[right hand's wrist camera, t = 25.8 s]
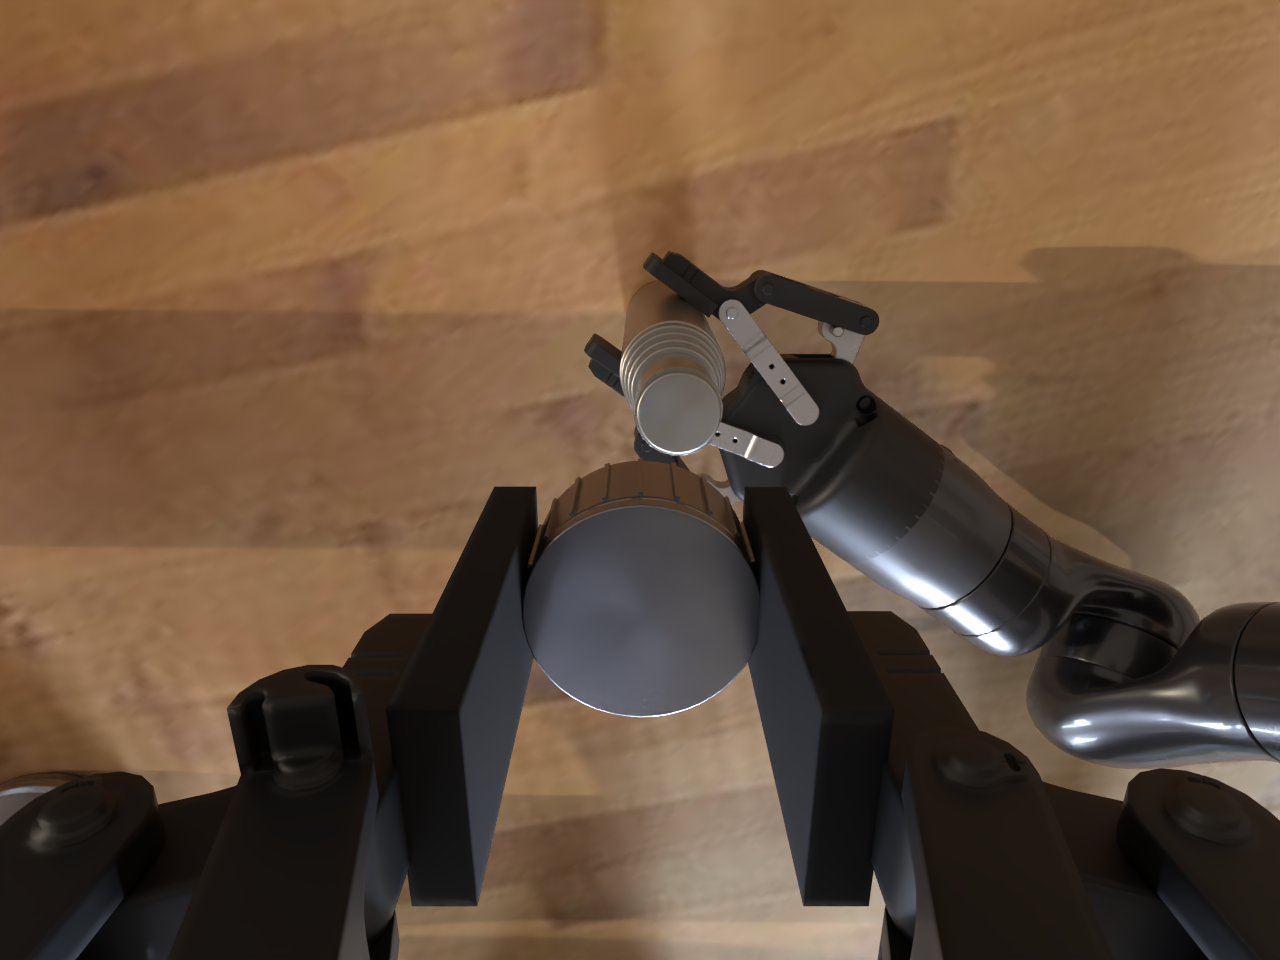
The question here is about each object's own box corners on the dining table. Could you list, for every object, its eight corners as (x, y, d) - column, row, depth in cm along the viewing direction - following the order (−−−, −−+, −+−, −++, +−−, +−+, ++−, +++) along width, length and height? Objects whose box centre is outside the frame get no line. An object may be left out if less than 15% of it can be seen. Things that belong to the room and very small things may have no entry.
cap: (728, 661, 15) (742, 733, 13) (525, 637, 15) (508, 706, 13) (767, 472, 14) (788, 520, 12) (545, 442, 14) (529, 487, 12)
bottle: (611, 315, 43) (587, 410, 25) (666, 263, 42) (683, 322, 24) (661, 369, 44) (674, 499, 26) (715, 319, 43) (770, 417, 25)
